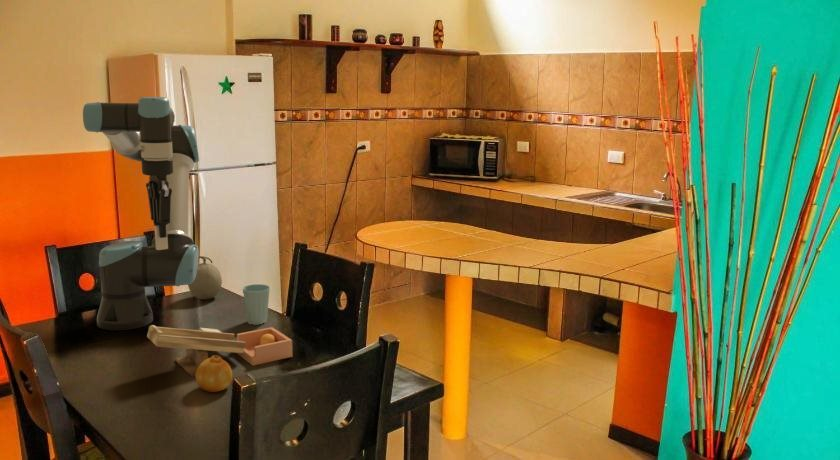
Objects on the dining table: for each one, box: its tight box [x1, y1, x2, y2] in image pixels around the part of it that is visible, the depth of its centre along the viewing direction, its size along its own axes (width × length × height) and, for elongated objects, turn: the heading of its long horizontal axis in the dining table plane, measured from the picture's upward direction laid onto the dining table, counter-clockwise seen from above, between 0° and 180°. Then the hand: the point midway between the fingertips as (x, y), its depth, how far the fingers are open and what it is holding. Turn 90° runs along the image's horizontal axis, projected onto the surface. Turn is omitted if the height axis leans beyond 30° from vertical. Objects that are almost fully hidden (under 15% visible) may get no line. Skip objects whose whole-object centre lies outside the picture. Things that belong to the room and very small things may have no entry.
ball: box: [260, 334, 275, 345], centre depth 195 cm, size 4×4×4 cm
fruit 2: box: [194, 354, 233, 393], centre depth 170 cm, size 8×8×8 cm
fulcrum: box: [175, 349, 210, 377], centre depth 184 cm, size 12×7×5 cm, turn 36°
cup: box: [242, 283, 271, 326], centre depth 216 cm, size 8×8×10 cm
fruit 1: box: [187, 255, 223, 300], centre depth 238 cm, size 10×12×15 cm
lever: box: [146, 324, 246, 354], centre depth 187 cm, size 17×22×3 cm
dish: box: [235, 326, 293, 367], centre depth 192 cm, size 12×11×4 cm
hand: (161, 248), depth 193 cm, fingers closed
